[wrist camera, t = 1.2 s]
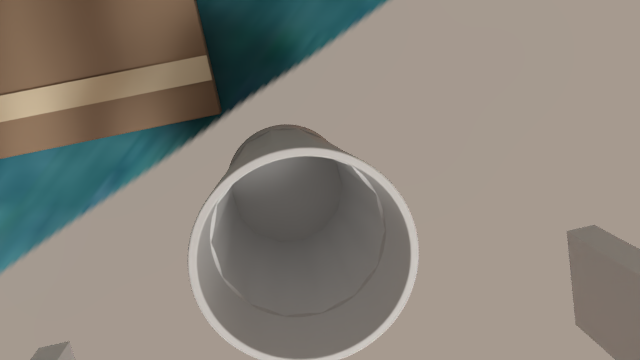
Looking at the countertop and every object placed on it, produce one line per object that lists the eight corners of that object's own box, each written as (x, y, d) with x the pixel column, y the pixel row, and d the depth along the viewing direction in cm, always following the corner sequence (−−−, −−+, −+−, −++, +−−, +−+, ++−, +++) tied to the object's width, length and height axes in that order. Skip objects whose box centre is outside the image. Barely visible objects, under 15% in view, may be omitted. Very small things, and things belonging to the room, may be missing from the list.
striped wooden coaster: (8, 154, 30) (-6, 160, 28) (-68, -75, 27) (-87, -83, 26) (221, 110, 30) (220, 114, 29) (169, -117, 28) (163, -127, 26)
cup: (293, 279, 33) (316, 407, 21) (180, 191, 31) (138, 278, 20) (388, 174, 32) (465, 246, 21) (278, 77, 30) (294, 96, 19)
